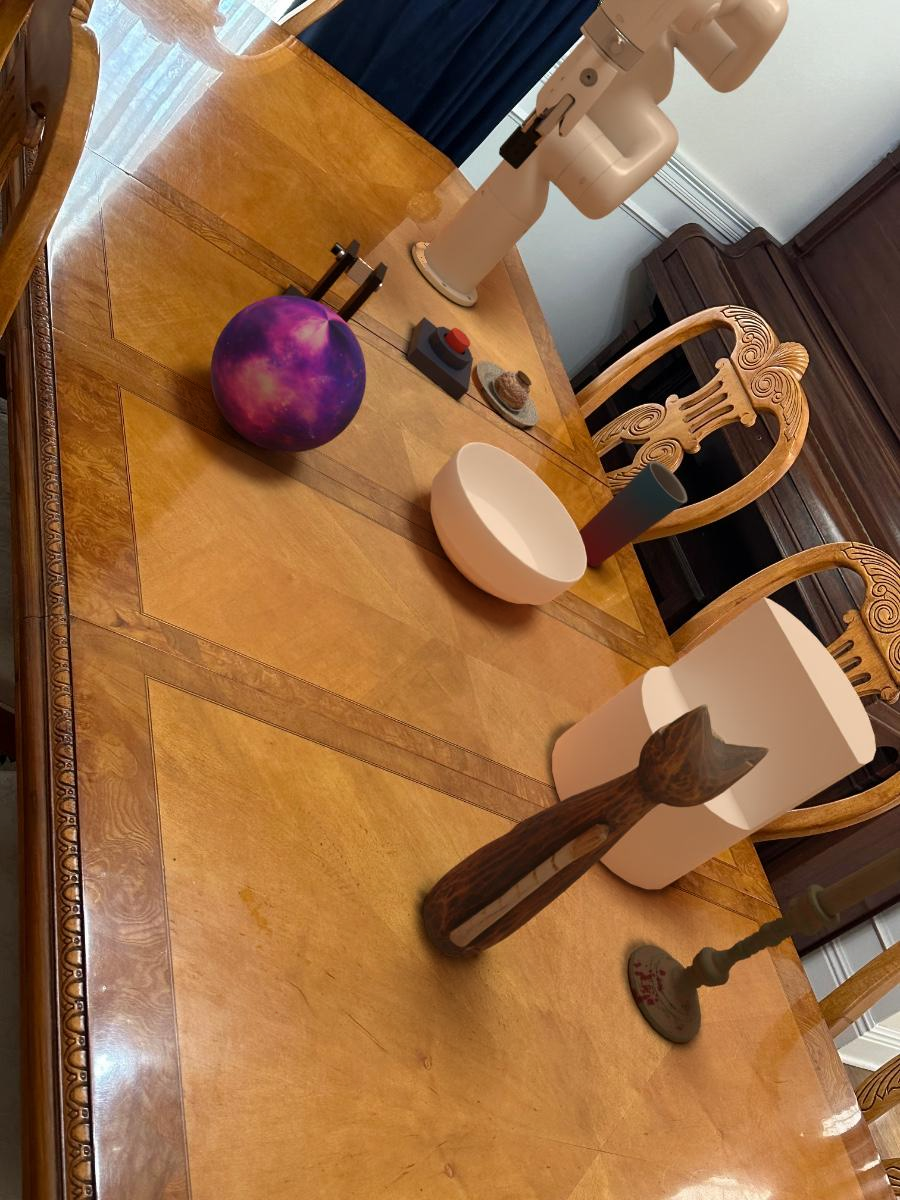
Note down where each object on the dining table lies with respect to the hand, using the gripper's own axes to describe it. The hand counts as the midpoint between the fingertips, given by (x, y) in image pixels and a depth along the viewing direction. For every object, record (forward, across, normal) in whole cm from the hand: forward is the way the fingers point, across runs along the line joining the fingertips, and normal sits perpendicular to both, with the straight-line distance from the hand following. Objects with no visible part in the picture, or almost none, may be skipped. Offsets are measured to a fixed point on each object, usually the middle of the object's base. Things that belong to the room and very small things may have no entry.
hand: (507, 159), depth 147 cm
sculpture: (+25, -92, -22) cm, 98 cm away
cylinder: (+25, -66, -42) cm, 82 cm away
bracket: (+25, -23, +8) cm, 35 cm away
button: (+21, -6, -10) cm, 24 cm away
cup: (+25, -23, -38) cm, 51 cm away
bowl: (+25, -42, -20) cm, 53 cm away
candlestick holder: (+25, -86, -47) cm, 101 cm away
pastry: (+25, 0, -22) cm, 34 cm away
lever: (+18, -19, +8) cm, 27 cm away
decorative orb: (+25, -49, +10) cm, 56 cm away
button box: (+25, -6, -10) cm, 28 cm away
